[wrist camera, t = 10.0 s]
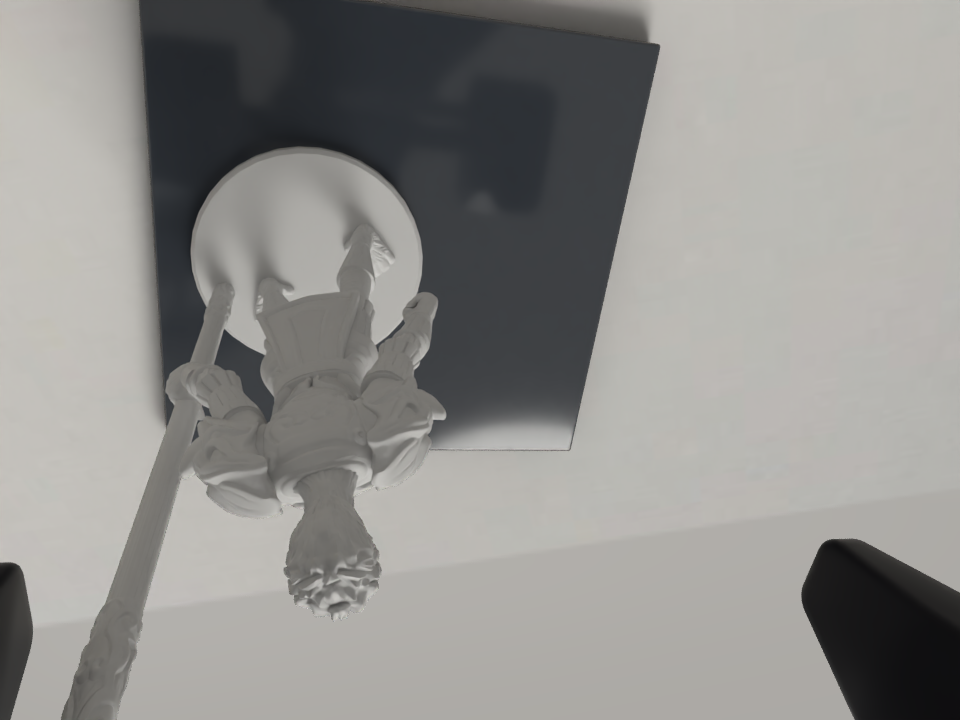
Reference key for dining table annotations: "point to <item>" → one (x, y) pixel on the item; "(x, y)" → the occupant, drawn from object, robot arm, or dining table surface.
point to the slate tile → (415, 179)
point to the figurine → (287, 387)
